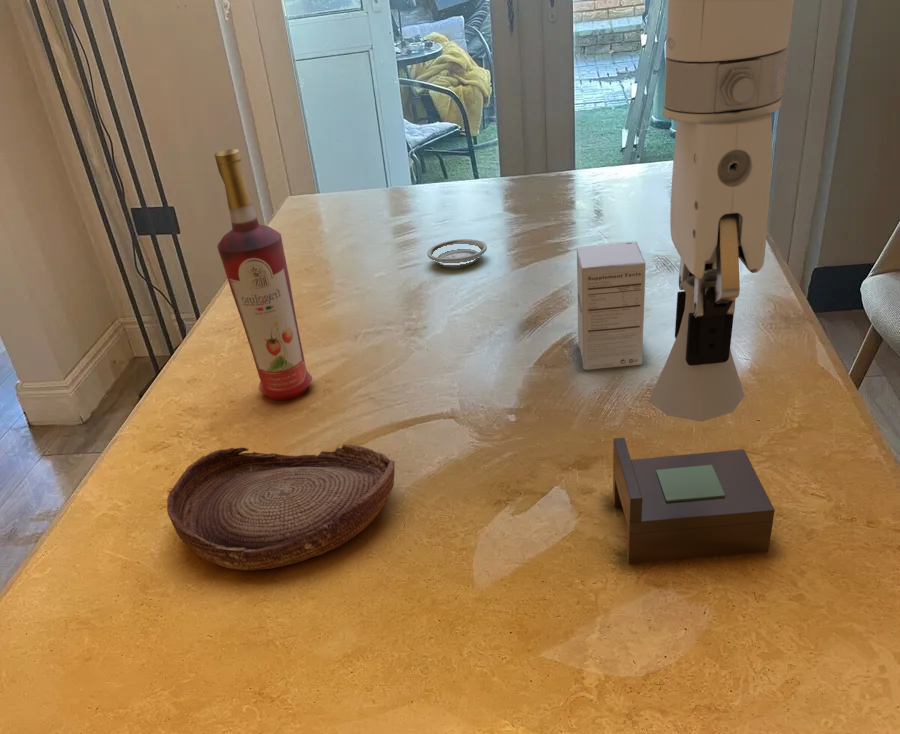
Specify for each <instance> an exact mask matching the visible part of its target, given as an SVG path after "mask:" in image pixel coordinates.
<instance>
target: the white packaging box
mask: <svg viewBox="0 0 900 734" xmlns="http://www.w3.org/2000/svg"><path fill="white" fill-rule="evenodd" d="M576 272H577V273H576V276H577V277H576V278H577V279H576V281H577V343H578V344H577V345H578V348H579V351H580V355H581V361H582V368H583V370H585V371H587V370H589V371H590V370H598V369H608V368H610V369H611V368H619V367H630V366H631V367H632V366H641V365H643V353H644V352H643V350H644V347H643V346H644V322H645V320H644V319H645V296H646V295H645V293H646V261H645V259H644V255H643V254H642V250H641V249H640V247H639V245H638V242H637V241H634V240H633V241H621V242H612V243H604V244H602V243H601V244H595V245H585V246H578V247H577V248H576Z"/></svg>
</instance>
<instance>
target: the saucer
mask: <svg viewBox="0 0 900 734" xmlns="http://www.w3.org/2000/svg"><path fill="white" fill-rule="evenodd" d="M453 244H469V245H475V246H478V247H479V248H480V249H481V251H480V252H477V251H475V250H471V249H457V250H451V251H447V252H445V253H442V254H440V255H439V256H438V257H434V256H432V254H433V252H434V251H435V250H437V249H438V248H441V247H443V246H447V245H453ZM487 250H488V245H487V244H486V243H485V242H483V241H481V240H478V239H471V238H461V239H459V238H458V239H452V240H447V241H443V242H440V243H438V244H435V245H433V246H431V247H430V248H429V249H428V250H427V253H426V254H427V257H428V258H429V259H430V260H432V261H433V260H435V261H437V262H442V263H460V262H467V261H471V260H474V259H477V258H478V257H480V256H481V255H482V254H483V255H484V253H485V252H487ZM483 255H482V256H483ZM482 256H481V257H482ZM481 257H480V258H481ZM478 260H479V259H477V260H475V261H473V262H469V263H466V264H460V265H442V264H439V265H440V266H443V267H444V268H446V269H453V270H455V269H456V270H457V269H462V268H463V269H464V268H466V267H470V266H471V265H473V264H474V262H476V261H478Z"/></svg>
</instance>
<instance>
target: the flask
mask: <svg viewBox="0 0 900 734" xmlns="http://www.w3.org/2000/svg"><path fill="white" fill-rule="evenodd" d="M694 283H695V276H690V277H688V278H687V279H686V280H685V281H684V282H683V284H682V287H683V290H682V291H686V300H685V310H684V314H683V318H682V322H681V326H680V329H679V333H678V335H677V337H676V338H675V339H674V342H673V344H672V347H671V349H670V352H669V354H668V356H667V359H666V361H665V363H664V365H663V367H662V371H661V372H660V374H659V376H658V378H657V381H656V383H655V385H654V386H653V389H652V392H651V394H650V397H649V399H648V403H650V404H651V405H653V406H654V407H655V408H657V410H659V411H661V412H662V413H663V414H664V415H666V416H667V417H668V416H669V417H672V418H679V419H685V420H691V421H696V422H705V421H709V420H712V419H716V418H719V417H722V416H725V415H729V414H732V413H734V412H735V410H736V409H737V408H738V406H739V405H740V404H741V402H742V401H743V399H744V397H745V393H744V389H743V387H742V383H741V380H740V379H741V378H740V376H739V374H738V370H737V367H736V364H735V361H734V358H733V354H732V351H731V349H730V354H729V359H728V360H727V361H726V362H723V363H713V364H703V365H693V366H690V365H688V364H687V362H686V344H687V330H688V316H689V313H694V311H693V307H694ZM715 284H716V281H708V282H705V294H706V292H707V290H708V288H709V287H714V286H715Z"/></svg>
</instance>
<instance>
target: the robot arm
mask: <svg viewBox="0 0 900 734" xmlns="http://www.w3.org/2000/svg"><path fill="white" fill-rule="evenodd" d="M794 5H795V0H667V15H666V36H665V37H666V38H665V58H664V59H665V60H664V61H665V62H664V80H663V81H664V82H663V105H662V116H663V117H664V118H666V119H668V120H673V121H675V122H676V125H675V126H676V127H675V132H674V149H673V161H672V174H671V189H670V211H669V212H670V213H669V215H670V217H669V219H670V221H669V223H670V225H669V227H670V229H669V230H670V237H671V241H672V243H673V246H674V248H675V249H676V251H677V254H678V255H679V256H680V261H679V274H678V289H679V291H677V294H676V309H675V323H674V324H675V327H674V338H675V339H676V337H677V335H678V333H679V329H680V326H681V322H682V318H683V314H684V310H685V300H686V291H684V290H683V287H682V284H683V282H684V281H685V280H686V279H687V278H688V277H690V276H695V283H694V307H693V311H694V313H689V316H688V330H687V344H686V362H687V364H688V365H690V366H693V365H703V364H713V363H723V362H726V361H727V360H728V359H729V354H730V350H731V346H732V345H731V344H732V334H733V325H734V318H735V317H734V315H735V310H736V299H737V298H739V297H740V291H741V289H740V288H741V286H740V285H741V284H740V261H741V263H742V264H743V265H744V266H745V268H746V269H747V270H748V271H749V272H750V273H751V274H755V273H756V274H757V273H758V272H760V271H761V269H762V268H764V265H765V257H766V245H767V233H768V224H769V212H770V211H769V209H770V198H771V197H770V196H771V184H772V168H773V167H772V166H773V164H772V163H773V117H772V113H773V114H774V113H775V112H777V111H778V110H779V109H780V108H781V107H782V101H783V92H784V84H785V76H786V75H785V74H786V66H787V59H788V51H789V43H790V35H791V27H792V19H793V12H794ZM708 281H716V284H715V286H714V287H709V288H708V290H707V292H706V294H705V282H708Z"/></svg>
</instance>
